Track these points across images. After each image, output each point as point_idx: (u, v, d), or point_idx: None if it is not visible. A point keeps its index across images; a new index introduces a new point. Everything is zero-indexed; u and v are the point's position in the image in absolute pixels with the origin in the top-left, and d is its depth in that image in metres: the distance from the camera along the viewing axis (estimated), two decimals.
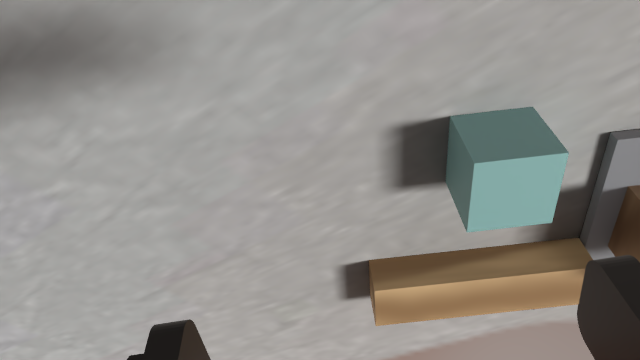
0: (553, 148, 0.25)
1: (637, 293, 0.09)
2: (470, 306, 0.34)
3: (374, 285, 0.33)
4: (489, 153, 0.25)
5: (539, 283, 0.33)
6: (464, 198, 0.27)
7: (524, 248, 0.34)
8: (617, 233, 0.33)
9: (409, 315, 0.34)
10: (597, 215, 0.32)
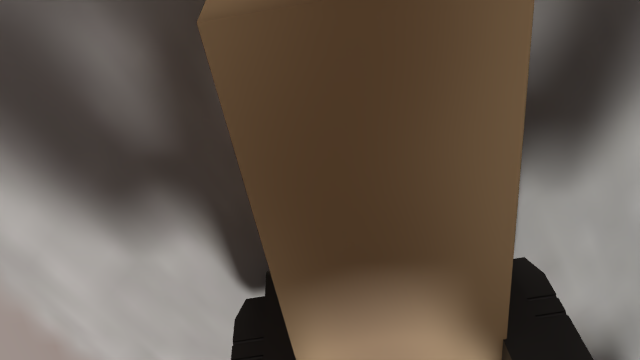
0: None
1: None
2: None
3: None
4: None
5: None
6: None
7: None
8: None
9: (302, 184, 0.07)
10: None
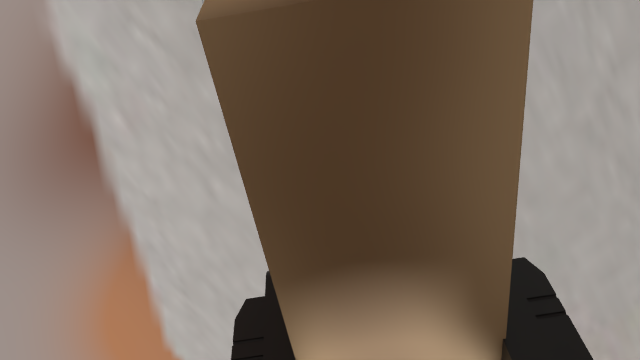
0: None
1: None
2: None
3: None
4: None
5: None
6: None
7: None
8: None
9: (301, 183, 0.07)
10: None
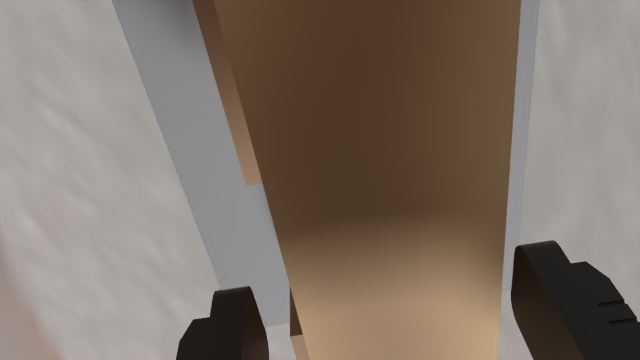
0: None
1: (553, 275, 0.10)
2: (359, 338, 0.09)
3: None
4: None
5: None
6: None
7: None
8: None
9: (308, 155, 0.07)
10: None
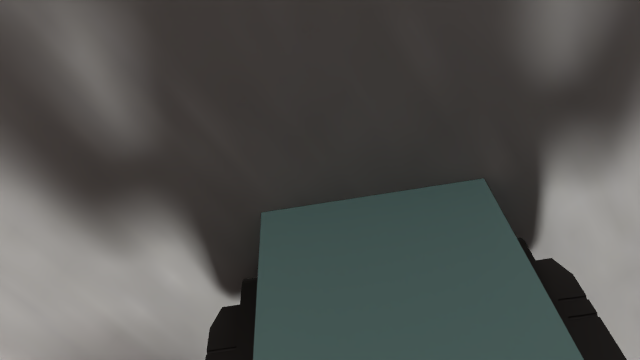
0: None
1: None
2: None
3: None
4: None
5: None
6: (360, 350, 0.08)
7: None
8: None
9: None
10: None
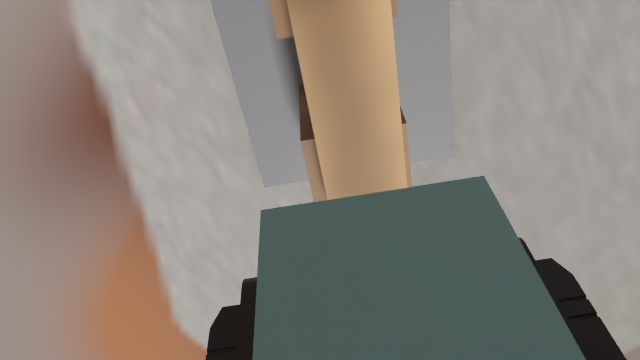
0: None
1: None
2: (332, 99, 0.20)
3: None
4: None
5: (384, 181, 0.22)
6: (360, 348, 0.08)
7: None
8: None
9: None
10: None
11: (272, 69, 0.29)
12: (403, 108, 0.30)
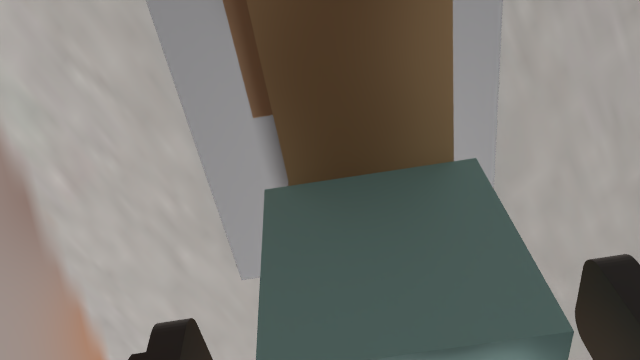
0: None
1: (634, 292, 0.09)
2: None
3: None
4: None
5: None
6: (358, 310, 0.08)
7: None
8: None
9: (301, 68, 0.10)
10: None
11: (251, 135, 0.21)
12: None
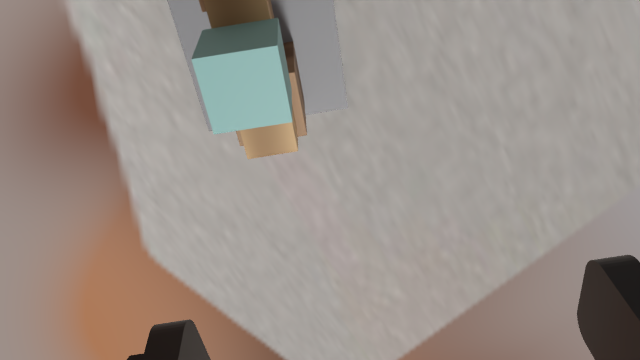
0: (290, 109, 0.29)
1: (637, 293, 0.09)
2: None
3: None
4: (280, 57, 0.28)
5: None
6: (223, 48, 0.28)
7: None
8: None
9: None
10: None
11: None
12: (307, 70, 0.42)
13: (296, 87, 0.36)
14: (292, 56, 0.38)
